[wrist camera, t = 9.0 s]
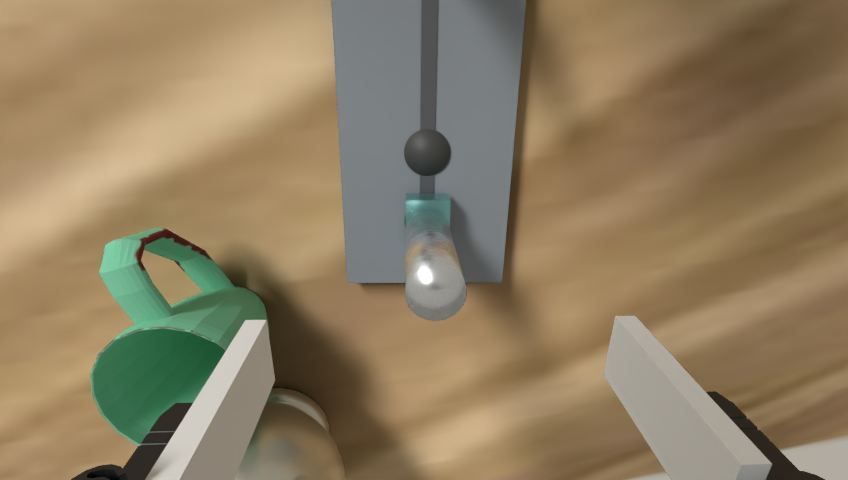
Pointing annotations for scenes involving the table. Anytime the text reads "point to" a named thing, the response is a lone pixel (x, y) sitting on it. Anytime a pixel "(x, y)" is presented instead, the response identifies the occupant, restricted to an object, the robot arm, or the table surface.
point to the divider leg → (431, 258)
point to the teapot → (291, 442)
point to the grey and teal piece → (426, 125)
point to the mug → (164, 331)
